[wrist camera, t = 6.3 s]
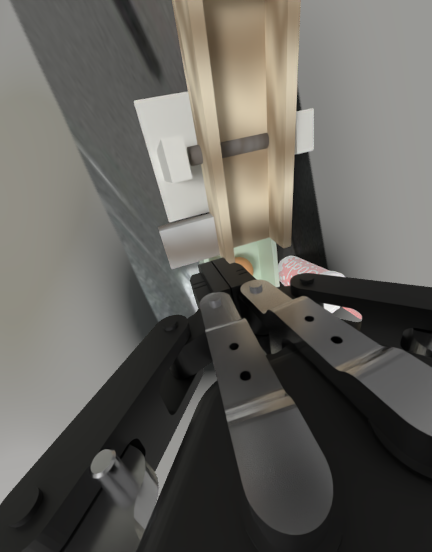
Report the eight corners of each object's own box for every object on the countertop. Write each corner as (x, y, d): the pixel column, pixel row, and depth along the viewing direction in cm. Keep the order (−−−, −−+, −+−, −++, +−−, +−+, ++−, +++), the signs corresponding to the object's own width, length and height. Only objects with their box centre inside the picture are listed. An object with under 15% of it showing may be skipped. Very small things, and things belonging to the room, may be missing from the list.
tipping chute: (86, 4, 14) (68, -46, 10) (272, -15, 16) (318, -63, 12) (168, 257, 24) (174, 281, 20) (274, 226, 26) (299, 243, 22)
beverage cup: (301, 244, 35) (386, 281, 22) (308, 276, 38) (387, 324, 25) (266, 262, 34) (333, 310, 22) (276, 292, 37) (340, 350, 25)
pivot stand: (134, 103, 23) (125, 57, 14) (261, 81, 25) (323, 30, 16) (168, 220, 28) (178, 241, 19) (270, 194, 30) (321, 201, 21)
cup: (193, 241, 30) (201, 252, 26) (257, 223, 31) (275, 231, 27) (211, 309, 35) (220, 328, 31) (265, 291, 36) (281, 307, 32)
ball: (225, 289, 32) (217, 262, 32) (251, 280, 33) (243, 254, 33) (232, 291, 28) (223, 260, 28) (261, 282, 29) (252, 252, 29)
